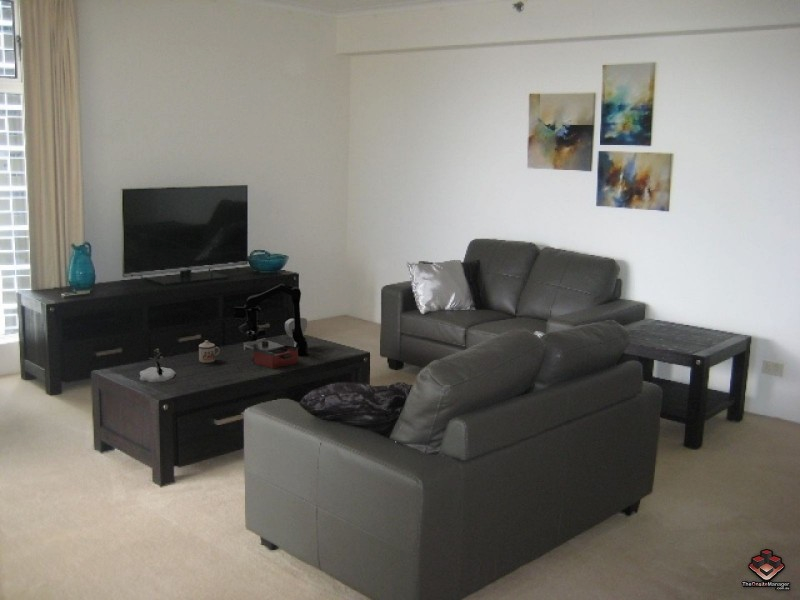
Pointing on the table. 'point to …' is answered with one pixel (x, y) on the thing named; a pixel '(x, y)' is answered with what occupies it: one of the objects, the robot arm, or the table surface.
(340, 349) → the table surface
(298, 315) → the robot arm
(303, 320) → the heart sculpture
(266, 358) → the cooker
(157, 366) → the figurine
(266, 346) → the lid
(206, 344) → the teacup with lid
